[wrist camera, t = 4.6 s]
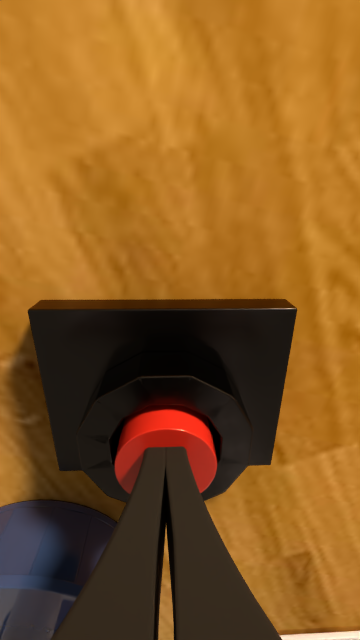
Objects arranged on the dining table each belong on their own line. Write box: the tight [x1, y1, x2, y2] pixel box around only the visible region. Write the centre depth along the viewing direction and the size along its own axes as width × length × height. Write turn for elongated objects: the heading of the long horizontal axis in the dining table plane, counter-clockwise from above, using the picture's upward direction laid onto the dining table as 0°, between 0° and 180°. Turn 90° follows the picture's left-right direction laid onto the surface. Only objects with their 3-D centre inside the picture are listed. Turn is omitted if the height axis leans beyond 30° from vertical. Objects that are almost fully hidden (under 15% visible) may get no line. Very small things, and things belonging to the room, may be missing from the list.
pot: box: [0, 500, 117, 586], centre depth 16 cm, size 10×10×4 cm
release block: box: [28, 299, 297, 503], centre depth 12 cm, size 10×8×3 cm
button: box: [114, 405, 217, 494], centre depth 11 cm, size 4×4×2 cm
